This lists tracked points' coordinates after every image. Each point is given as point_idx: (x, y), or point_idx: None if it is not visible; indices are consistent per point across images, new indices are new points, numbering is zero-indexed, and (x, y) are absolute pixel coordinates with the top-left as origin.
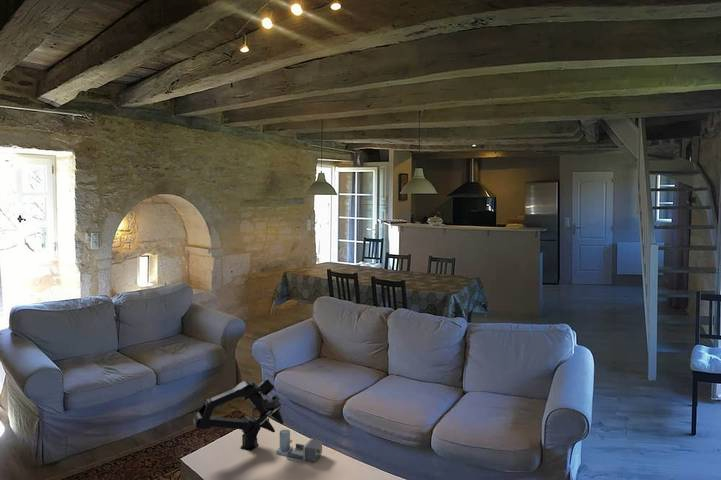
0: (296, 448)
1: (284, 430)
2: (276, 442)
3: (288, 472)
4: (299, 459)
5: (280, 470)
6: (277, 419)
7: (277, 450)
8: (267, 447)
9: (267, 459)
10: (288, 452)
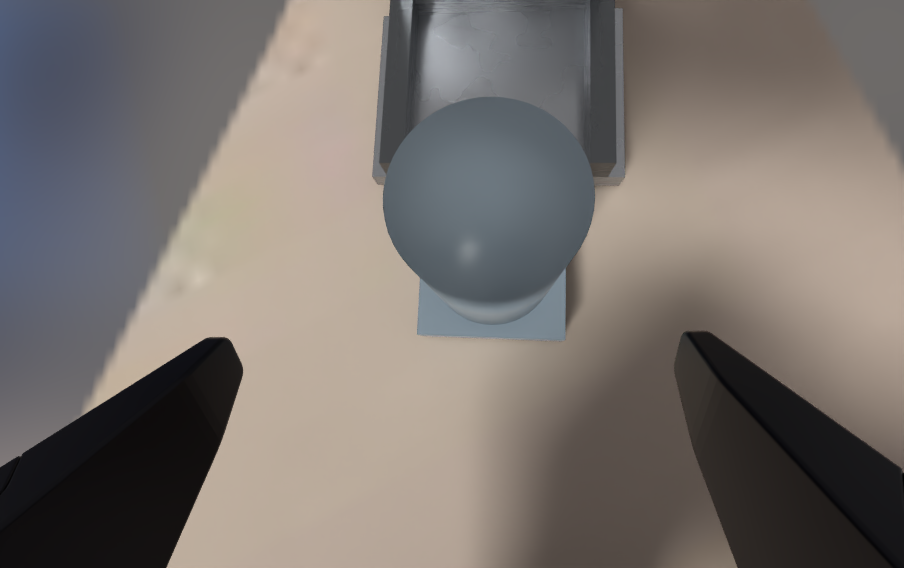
0: None
1: (429, 230)
2: (340, 450)
3: (826, 66)
4: (617, 37)
5: (831, 153)
6: (161, 529)
7: (556, 327)
8: (470, 503)
9: None
10: (596, 159)
